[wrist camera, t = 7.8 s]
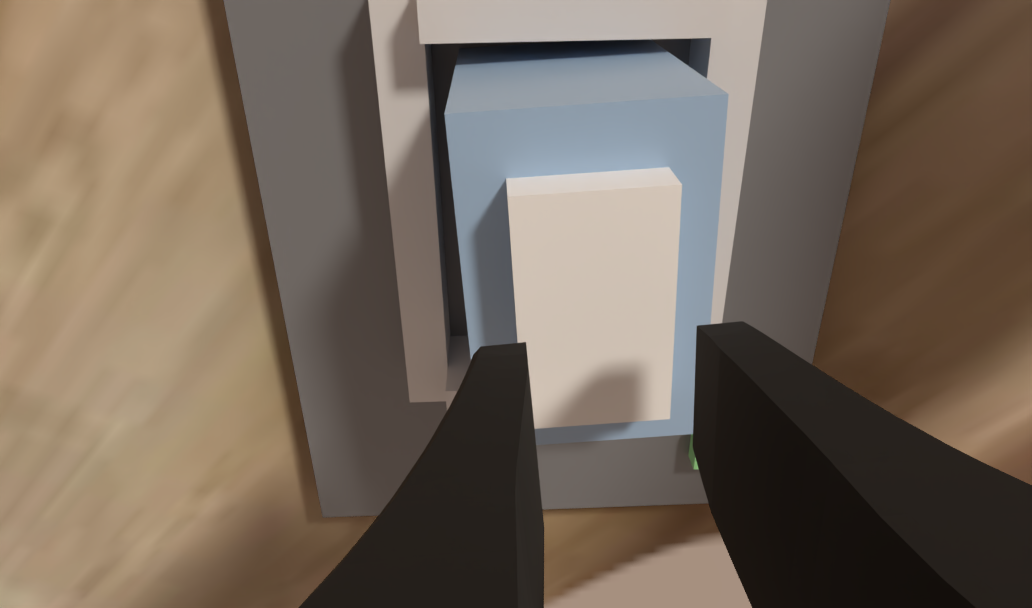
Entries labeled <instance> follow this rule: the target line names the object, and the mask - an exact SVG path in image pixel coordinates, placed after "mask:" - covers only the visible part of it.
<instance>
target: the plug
mask: <svg viewBox="0 0 1032 608" xmlns="http://www.w3.org/2000/svg"><path fill="white" fill-rule="evenodd" d="M728 96H729V94H728V93H726V92H725V91H724V90H722V89H721V88H719V87H718V86H716V85H715V84H714V83H712V82H711V81H709V80H708V79H706V78H705V77H704V76H702V75H701V74H699V73H698V72H696V71H695V70H694V69H692V68H691V67H689V66H688V65H686V64H685V63H684V62H682V61H681V60H679V59H678V58H676V57H675V56H673V55H672V54H671V53H669V52H668V51H666V50H665V49H663V48H662V47H661V46H659V45H658V44H656V43H655V42H653V41H652V40H651V39H640V40H591V41H560V42H546V43H531V44H517V45H503V46H488V47H474V48H459V52H458V56H457V61H456V65H455V70H454V74H453V78H452V83H451V87H450V91H449V96H448V100H447V105H446V109H445V113H444V115H445V124H446V133H447V143H448V152H449V161H450V171H451V180H452V189H453V199H454V208H455V217H456V226H457V236H458V245H459V254H460V264H461V273H462V282H463V292H464V301H465V310H466V320H467V329H468V338H469V348H470V357H471V359H472V357H473V354H474V353H475V352H476V351H477V350H478V349H479V348H480V347H481V346H491V345H501V344H511V343H522V342H526V347H527V357H528V368H529V378H530V388H531V398H532V408H533V418H534V428H535V438H536V445H546V444H560V443H574V442H588V441H602V440H617V439H631V438H645V437H659V436H673V435H687V434H693V419H694V390H695V360H696V330H697V326H698V325H708V324H711V312H712V299H713V286H714V274H715V261H716V248H717V235H718V223H719V210H720V197H721V185H722V172H723V159H724V147H725V134H726V121H727V108H728Z"/></svg>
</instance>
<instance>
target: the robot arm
mask: <svg viewBox="0 0 1032 608" xmlns="http://www.w3.org/2000/svg"><path fill="white" fill-rule="evenodd" d="M693 450H694V454H695V458H696V461H697V465H698V468H699V472H700V476H701V479H702V483H703V486H704V489H705V493H706V496H707V499H708V503H709V506H710V509H711V513H712V515H713V518H714V520H715V522H716V525H717V527H718V529H719V532H720V534H721V536H722V539H723V541H724V543H725V546H726V548H727V550H728V553H729V555H730V557H731V560H732V562H733V564H734V567H735V569H736V571H737V574H738V576H739V578H740V580H741V583H742V585H743V587H744V590H745V592H746V594H747V596H748V599H749V601H750V603H751V606H752V608H1032V485H1030V484H1028V483H1025V482H1023V481H1021V480H1019V479H1017V478H1015V477H1013V476H1010V475H1008V474H1006V473H1004V472H1002V471H1000V470H998V469H995V468H993V467H991V466H989V465H987V464H985V463H983V462H981V461H979V460H977V459H975V458H973V457H971V456H969V455H967V454H965V453H963V452H961V451H959V450H957V449H955V448H953V447H951V446H949V445H947V444H945V443H944V442H942V441H940V440H938V439H936V438H934V437H933V436H931V435H929V434H927V433H925V432H924V431H922V430H920V429H918V428H916V427H914V426H913V425H911V424H909V423H907V422H905V421H904V420H902V419H900V418H898V417H896V416H895V415H893V414H891V413H889V412H888V411H886V410H884V409H883V408H881V407H879V406H878V405H876V404H874V403H872V402H871V401H869V400H867V399H866V398H864V397H862V396H861V395H859V394H858V393H856V392H854V391H853V390H851V389H849V388H848V387H846V386H845V385H843V384H841V383H840V382H838V381H837V380H835V379H833V378H832V377H830V376H829V375H827V374H826V373H824V372H822V371H821V370H819V369H818V368H816V367H815V366H813V365H812V364H810V363H808V362H807V361H805V360H804V359H802V358H801V357H799V356H798V355H796V354H795V353H793V352H792V351H790V350H788V349H787V348H785V347H784V346H782V345H781V344H779V343H778V342H776V341H775V340H773V339H772V338H770V337H768V336H767V335H765V334H764V333H762V332H761V331H759V330H757V329H756V328H754V327H752V326H751V325H749V324H747V323H745V322H743V321H739V322H729V323H718V324H708V325H698V326H697V330H696V360H695V390H694V419H693ZM299 608H544V522H543V511H542V501H541V490H540V480H539V469H538V459H537V449H536V438H535V428H534V418H533V408H532V398H531V388H530V378H529V368H528V357H527V347H526V342H522V343H511V344H501V345H491V346H481V347H480V348H479V349H478V350H477V351H476V352H475V353H474V354H473V357H472V359H471V362H470V365H469V367H468V370H467V372H466V374H465V376H464V379H463V381H462V383H461V385H460V387H459V389H458V391H457V393H456V395H455V397H454V399H453V401H452V403H451V405H450V407H449V408H448V410H447V412H446V414H445V415H444V417H443V419H442V421H441V422H440V424H439V426H438V428H437V429H436V431H435V433H434V435H433V436H432V438H431V440H430V441H429V443H428V445H427V446H426V448H425V450H424V451H423V453H422V454H421V456H420V457H419V459H418V460H417V462H416V463H415V465H414V466H413V467H412V469H411V470H410V472H409V473H408V475H407V476H406V478H405V479H404V481H403V482H402V484H401V485H400V487H399V488H398V490H397V491H396V493H395V494H394V495H393V497H392V498H391V500H390V501H389V502H388V504H387V505H386V506H385V508H384V509H383V510H382V512H381V513H380V514H379V516H378V517H377V518H376V519H375V521H374V522H373V523H372V525H371V526H370V527H369V528H368V530H367V531H366V532H365V533H364V534H363V536H362V537H361V538H360V539H359V541H358V542H357V543H356V544H355V545H354V547H353V548H352V549H351V550H350V551H349V553H348V554H347V555H346V556H345V557H344V559H343V560H342V561H341V562H340V563H339V564H338V565H337V566H336V567H335V569H334V570H333V571H332V572H331V573H330V574H329V575H328V576H327V577H326V578H325V579H324V581H323V582H322V583H321V584H320V585H319V586H318V587H317V588H316V589H315V590H314V592H313V593H312V594H311V595H310V596H309V597H308V598H307V599H306V600H305V601H304V602H303V604H302V605H301V606H300V607H299Z"/></svg>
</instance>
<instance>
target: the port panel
mask: <svg viewBox="0 0 1032 608" xmlns="http://www.w3.org/2000/svg"><path fill="white" fill-rule="evenodd" d="M223 1H224V6H225V11H226V16H227V22H228V27H229V32H230V37H231V42H232V48H233V53H234V58H235V63H236V68H237V74H238V79H239V84H240V89H241V94H242V100H243V105H244V110H245V115H246V120H247V126H248V131H249V136H250V141H251V147H252V152H253V157H254V162H255V167H256V173H257V178H258V183H259V188H260V193H261V199H262V204H263V209H264V214H265V219H266V225H267V230H268V235H269V240H270V246H271V251H272V256H273V261H274V266H275V272H276V277H277V282H278V287H279V292H280V298H281V303H282V308H283V313H284V318H285V324H286V329H287V334H288V339H289V345H290V350H291V355H292V360H293V365H294V371H295V376H296V381H297V386H298V391H299V397H300V402H301V407H302V412H303V417H304V423H305V428H306V433H307V438H308V443H309V449H310V454H311V459H312V464H313V470H314V475H315V480H316V485H317V490H318V496H319V501H320V506H321V511H322V516H323V517H350V516H377V515H379V514H380V513H381V512H382V510H383V509H384V508H385V506H386V505H387V504H388V502H389V501H390V500H391V498H392V497H393V495H394V494H395V493H396V491H397V490H398V488H399V487H400V485H401V484H402V482H403V481H404V479H405V478H406V476H407V475H408V473H409V472H410V470H411V469H412V467H413V466H414V465H415V463H416V462H417V460H418V459H419V457H420V456H421V454H422V453H423V451H424V450H425V448H426V446H427V445H428V443H429V441H430V440H431V438H432V436H433V435H434V433H435V431H436V429H437V428H438V426H439V424H440V422H441V421H442V419H443V417H444V415H445V414H446V412H447V410H448V408H449V407H450V405H451V403H452V401H453V399H454V397H455V395H456V393H457V391H458V389H459V387H460V385H461V383H462V381H463V379H464V376H465V374H466V372H467V370H468V367H469V365H470V362H471V357H470V348H469V338H468V329H467V320H466V310H465V301H464V292H463V282H462V273H461V264H460V254H459V245H458V236H457V226H456V217H455V208H454V199H453V189H452V180H451V171H450V161H449V152H448V143H447V133H446V124H445V115H444V113H445V109H446V105H447V100H448V96H449V91H450V87H451V83H452V78H453V74H454V70H455V65H456V61H457V56H458V52H459V48H474V47H488V46H503V45H517V44H531V43H546V42H560V41H591V40H640V39H651V40H652V41H653V42H655V43H656V44H658V45H659V46H661V47H662V48H663V49H665V50H666V51H668V52H669V53H671V54H672V55H673V56H675V57H676V58H678V59H679V60H681V61H682V62H684V63H685V64H686V65H688V66H689V67H691V68H692V69H694V70H695V71H696V72H698V73H699V74H701V75H702V76H704V77H705V78H706V79H708V80H709V81H711V82H712V83H714V84H715V85H716V86H718V87H719V88H721V89H722V90H724V91H725V92H726V93H728V94H729V96H728V108H727V121H726V134H725V147H724V159H723V172H722V185H721V197H720V210H719V223H718V235H717V248H716V261H715V274H714V286H713V299H712V312H711V324H718V323H729V322H739V321H743V322H745V323H747V324H749V325H751V326H752V327H754V328H756V329H757V330H759V331H761V332H762V333H764V334H765V335H767V336H768V337H770V338H772V339H773V340H775V341H776V342H778V343H779V344H781V345H782V346H784V347H785V348H787V349H788V350H790V351H792V352H793V353H795V354H796V355H798V356H799V357H801V358H802V359H804V360H805V361H807V362H808V363H810V364H812V362H813V358H814V353H815V348H816V344H817V339H818V334H819V330H820V325H821V321H822V316H823V311H824V307H825V302H826V297H827V293H828V288H829V283H830V279H831V274H832V269H833V265H834V260H835V256H836V251H837V246H838V242H839V237H840V232H841V228H842V223H843V218H844V214H845V209H846V204H847V200H848V195H849V191H850V186H851V181H852V177H853V172H854V167H855V163H856V158H857V153H858V149H859V144H860V139H861V135H862V130H863V126H864V121H865V116H866V112H867V107H868V102H869V98H870V93H871V88H872V84H873V79H874V74H875V70H876V65H877V61H878V56H879V51H880V47H881V42H882V37H883V33H884V28H885V23H886V19H887V14H888V9H889V5H890V0H223ZM536 449H537V459H538V469H539V480H540V490H541V501H542V509H569V508H596V507H624V506H651V505H678V504H706V503H708V499H707V496H706V493H705V489H704V486H703V483H702V479H701V476H700V472H699V468H698V465H697V461H696V458H695V454H694V450H693V434H687V435H673V436H659V437H645V438H631V439H617V440H602V441H588V442H574V443H560V444H546V445H536Z"/></svg>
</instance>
